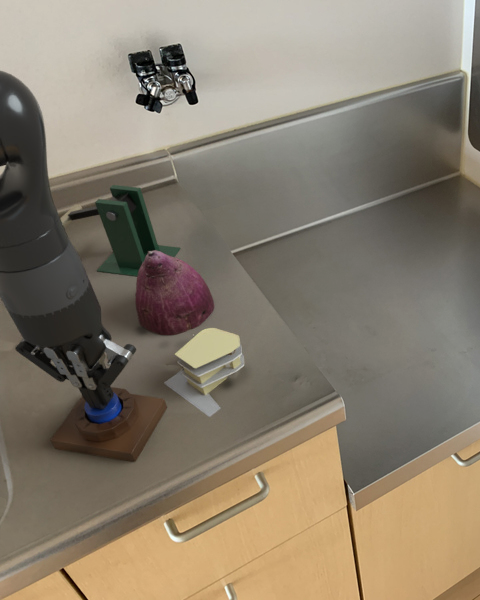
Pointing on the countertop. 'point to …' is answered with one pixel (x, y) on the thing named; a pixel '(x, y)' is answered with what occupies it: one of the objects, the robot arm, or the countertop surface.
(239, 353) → the yellow layered block
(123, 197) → the lever
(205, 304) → the vegetable
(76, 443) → the switch box
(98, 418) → the button
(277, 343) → the countertop surface
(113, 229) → the switch bracket
